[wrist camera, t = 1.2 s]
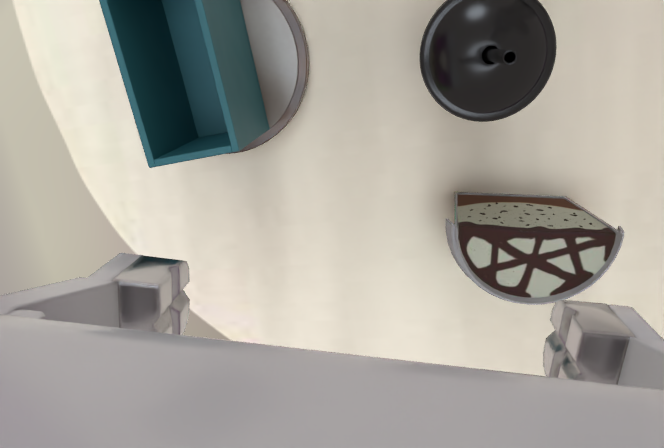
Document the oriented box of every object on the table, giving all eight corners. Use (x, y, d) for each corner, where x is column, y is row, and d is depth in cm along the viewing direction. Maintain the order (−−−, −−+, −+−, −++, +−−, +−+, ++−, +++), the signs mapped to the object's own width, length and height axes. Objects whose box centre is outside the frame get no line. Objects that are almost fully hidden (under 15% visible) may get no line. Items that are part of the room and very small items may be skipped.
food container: (432, 257, 51) (441, 306, 41) (436, 191, 49) (448, 227, 39) (573, 264, 49) (616, 317, 40) (584, 197, 48) (632, 235, 38)
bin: (234, -24, 43) (191, -43, 34) (269, 129, 47) (239, 151, 37) (155, -6, 44) (91, -19, 35) (195, 143, 48) (147, 168, 38)
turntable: (160, -65, 45) (152, -68, 43) (335, 7, 45) (334, 6, 43) (115, 113, 49) (107, 115, 48) (274, 176, 50) (271, 180, 48)
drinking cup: (528, 38, 44) (633, 35, 25) (466, 118, 47) (519, 170, 28) (451, -21, 43) (499, -70, 25) (392, 63, 46) (394, 77, 27)
